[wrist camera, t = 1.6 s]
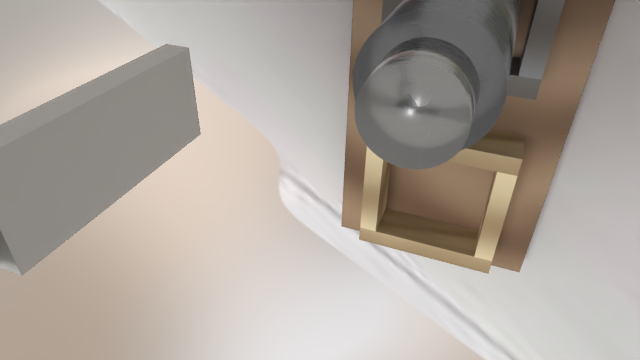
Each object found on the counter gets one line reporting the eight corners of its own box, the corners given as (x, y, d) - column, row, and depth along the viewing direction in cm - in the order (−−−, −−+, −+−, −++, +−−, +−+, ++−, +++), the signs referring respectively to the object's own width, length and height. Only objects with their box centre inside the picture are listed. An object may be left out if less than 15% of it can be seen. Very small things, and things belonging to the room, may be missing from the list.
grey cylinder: (434, -62, 22) (331, 22, 12) (534, -54, 21) (522, 46, 10) (421, 32, 25) (327, 172, 14) (510, 44, 24) (480, 207, 13)
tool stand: (370, -149, 23) (343, -149, 20) (658, -143, 19) (679, -142, 16) (348, 213, 35) (329, 248, 32) (520, 257, 32) (517, 300, 29)
